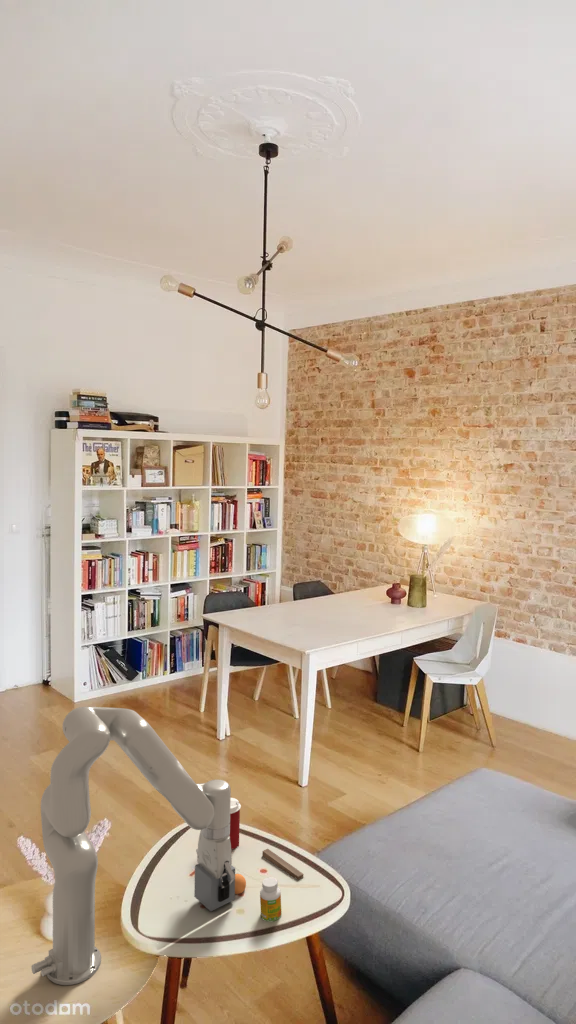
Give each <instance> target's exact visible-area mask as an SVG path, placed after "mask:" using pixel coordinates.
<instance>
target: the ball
mask: <svg viewBox="0 0 576 1024" xmlns="http://www.w3.org/2000/svg"><path fill="white" fill-rule="evenodd" d="M246 887H247V880H246V878H245V876H244V875H242V874H240V873H235V895H240V894H242V893H243V892H244V891H245V890H246Z"/></svg>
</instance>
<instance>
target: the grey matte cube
mask: <svg viewBox="0 0 576 1024" xmlns="http://www.w3.org/2000/svg"><path fill="white" fill-rule="evenodd" d="M194 865H195V866H194V893H193V894H194V898H195V899H196V900H197V901H199V902H200V903H201V904H202V906H204V908H206V909H208V911H210V912H212V911H214V910H217V909H219V908H221V907H222V906H224V905H226V904H228V903H231V902H233V901H235V898H236V897H235V896H236V894H235V879H234V881H233V883H231V885H230V889H229V898H228V899H226V900H224V901H222V902H219V901H218V890H219V887H220V884H219V879H215V877H213V876H212V875H211V874H210V873H208V872H207V871H206V870H205V869H204V868H203V867H201V866H200V865H199V864H198V863H196V864H194ZM231 869H232V871H233V873H234V875H235V874H236V867H235V866H234V865H232V866H231ZM223 873H225V871H223ZM222 879H223V882H224V881H225V880H226V875H225V876H223V877H222Z"/></svg>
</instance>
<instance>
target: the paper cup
mask: <svg viewBox="0 0 576 1024" xmlns="http://www.w3.org/2000/svg"><path fill="white" fill-rule="evenodd" d="M241 807H242V805H241V803H240V801H239V800H238V799H237V798H235V797H231V801H230V835H229V837H230V842H231V850H234V849H236V848H239V846H240V826H241V825H240V821H241V819H240V818H241V812H240V811H241Z"/></svg>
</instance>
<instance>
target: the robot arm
mask: <svg viewBox="0 0 576 1024" xmlns="http://www.w3.org/2000/svg"><path fill="white" fill-rule="evenodd" d="M62 732H63V735H64V737H65V739H66V740H67V741H68V743H66V745H65V746H64V747H63V748H62V749H61V750H60V752H58V754H57V755H56V757H55V759H54V760H53V763H52V765H51V768H50V778H49V779H50V783H49V784H48V786H46V788H45V789H44V791H43V793H42V796H41V799H40V817H41V818H40V821H41V834H42V842H43V843H42V844H43V848H44V851H45V853H46V856H47V857H48V860H49V862H50V864H51V866H52V868H53V873H54V883H53V884H54V885H53V890H52V948H50V949H49V950H48V955H47V956H45V957H44V959H43V960H41V961H37V962H36V963H33V964H32V965H31V966H30V967H31V971H32V972H31V973H32V974H33V975H35V974H37V973H39V972H40V973H41V976H42V977H45V976H46V977H47V978H48V979H49V981H51V982H52V983H54V984H57V985H59V986H72V985H77V984H79V983H83V982H84V981H86V980H87V981H88V980H89V979H90V978H92V976H94V975H95V974H96V973H97V971H98V970H99V968H100V966H101V963H102V954H101V952H100V949H99V948H98V947H97V946H95V939H96V938H95V936H96V935H95V932H96V930H95V927H96V926H95V925H96V924H95V923H96V920H95V919H96V918H95V917H96V915H95V914H96V897H95V896H96V895H95V894H96V891H95V890H96V877H97V872H98V867H99V860H98V855H97V851H96V848H95V846H94V844H93V843H92V841H91V839H90V838H89V836H88V834H87V833H86V830H87V828H88V826H89V824H90V821H91V815H92V809H91V797H90V785H89V781H90V780H89V779H90V776H89V775H90V771H91V770H90V769H91V768H92V766H93V765H94V764H95V762H96V761H97V760H98V759H99V758H101V756H103V754H104V753H105V752H106V750H107V749H108V747H109V745H110V743H111V741H114V742H115V743H116V745H118V746H119V748H120V749H121V750H122V751H123V753H124V755H126V756H127V757H128V758H129V760H130V761H131V762H132V763H133V764H134V766H135V767H136V768H137V769H138V770H139V772H140V773H141V774H142V775H143V776H144V778H145V779H146V780H147V781H148V783H149V784H150V785H151V786H152V788H154V790H156V791H157V792H158V793H159V794H161V796H163V797H164V798H165V799H166V800H167V802H168V803H170V805H171V807H172V809H173V810H174V811H175V813H177V814H178V816H179V817H180V818H181V819H182V820H183V821H184V822H185V824H186V825H188V826H189V828H191V829H192V830H196V831H200V832H199V837H198V843H197V849H196V850H195V852H196V854H197V856H196V859H197V861H196V862H197V864H199V865H200V866H201V867H203V868H204V869H205V870H206V871H207V872H208V873H210V874H211V875H212V876H213V877H215V879H219V884H220V887H219V890H218V901H219V902H222V901H224V900H226V899H228V898H229V889H230V885H231V883H233V881H234V879H235V875H234V873H233V871H232V869H231V866H233V865H232V864H233V863H232V859H233V858H232V849H231V842H230V837H229V835H230V801H231V798H232V795H231V785H230V784H229V782H227V781H225V780H224V779H211V780H209V781H206V782H203V783H196V782H195V780H194V779H193V778H192V777H191V776H190V774H189V773H188V772H187V770H186V769H185V767H184V766H183V765H182V764H181V762H180V761H179V759H178V758H177V757H176V756H175V754H174V753H172V751H171V750H170V749H169V747H168V746H167V745H166V744H165V742H164V741H163V739H161V737H160V736H159V735H158V733H157V732H156V730H155V729H154V728H153V727H152V726H151V724H150V723H149V722H148V721H147V720H146V719H145V718H143V717H142V716H141V715H140V714H139V713H138V712H137V711H135V710H134V709H130V708H123V707H103V706H101V707H100V706H80V707H76V708H73V709H72V710H71V711H70V712H68V713H67V714H66V716H65V718H64V719H63V721H62ZM223 871H225V873H223ZM225 875H226V880H225V881H224V882H223V879H222V877H223V876H225Z"/></svg>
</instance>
